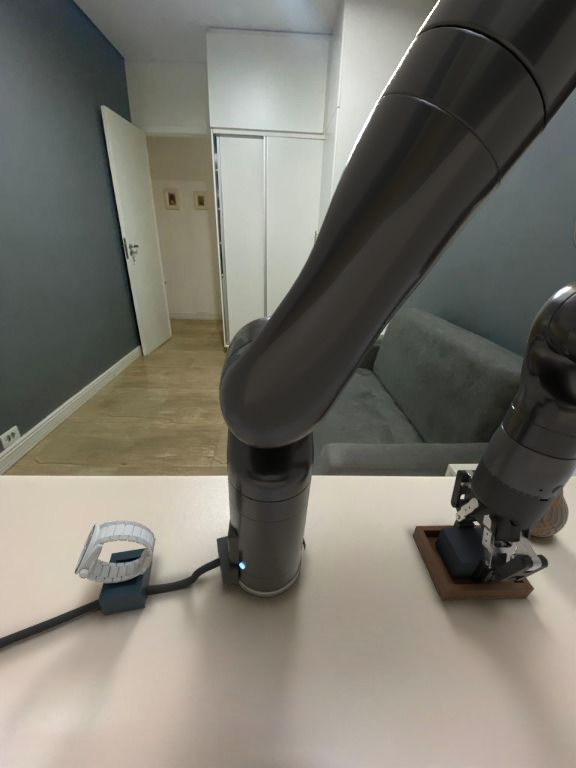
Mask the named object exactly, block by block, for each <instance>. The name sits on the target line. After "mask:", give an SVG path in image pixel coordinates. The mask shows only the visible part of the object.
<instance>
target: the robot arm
mask: <svg viewBox="0 0 576 768" xmlns="http://www.w3.org/2000/svg"><path fill="white" fill-rule="evenodd" d="M575 91H576V0H437V2H436V4H435V5H434V6H433V8H432V10H431V11H430V13H429V14H428V16H427V17H426V19H425V21H424V22H423V24H422V26H420V28H419V30H418V32H417V33H416V34H415V37H414V38H413V40H412V42H411V44H410V45H409V47H408V48H407V50H406V52H405V54H404V56H403V57H402V59H401V61H400V62H399V64H398V66H397V67H396V69H395V71H394V72H393V74H392V76H391V77H390V79H389V81H388V82H387V85H386V86H385V88H384V89H383V91H382V93H381V94H380V96H379V99H378V100H377V101H376V102H375V104H374V107H373V109H372V110H371V112H370V114H369V116H368V118H367V119H366V121H365V123H364V125H363V127H362V129H361V130H360V133H359V135H358V137H357V139H356V141H355V143H354V145H353V147H352V149H351V152H350V154H349V157H348V158H347V161H346V163H345V165H344V168H343V170H342V173H341V174H340V178H339V180H338V182H337V184H336V186H335V190H334V192H333V195H332V197H331V199H330V201H329V205H328V207H327V210H326V213H325V216H324V218H323V221H322V223H321V226H320V229H319V231H318V234H317V236H316V239H315V241H314V244H313V246H312V248H311V250H310V253H309V255H308V257H307V259H306V261H305V263H304V265H303V267H302V268H301V270H300V272H299V274H298V276H297V277H296V278H295V280H294V282H293V283H292V286H291V287H290V288H289V290H288V291H287V293H286V294H285V296H284V297H283V299H282V300H281V302H280V303H279V305H278V306H277V307H276V308H275V310H274V311H273V313H272V314H271V315H269V316H262V317H259V318H255V319H253V320H250V321H249V322H248V323H246V324H244V325H243V326H242V327H241V328H240V329H239V330H237V332H236V333H235V334H234V335H233V337H232V339H231V340H230V343H229V345H228V347H227V350H226V353H225V358H224V361H223V364H222V365H223V366H222V370H221V373H220V378H219V384H218V400H219V407H220V411H221V415H222V418H223V420H224V422H225V424H226V426H227V441H226V469H227V470H226V471H227V488H228V507H229V521H228V530H227V535H225V536H222V537H218V538H216V548H217V549H216V550H217V555H218V556H217V558H216V559H213V560H211V561H209V562H207V563H205V564H203V565H201V566H199V567H198V568H196V569H195V570H194V571H193V572H192V574H191V575H190V576H188V577H186V578H183V579H179V580H176V581H172V582H166V583H159V584H149V586H147V587H146V594H147V595H153V594H163V593H169V592H173V591H178V590H181V589H184V588H187V587H188V586H191V585H193V584H194V583H196V582H197V581H198V580H199V578H200V576H202V575H204V574H206V573H208V572H210V571H212V570H214V569H216V568H219V569H220V575H221V582H222V586H227V585H230V584H231V585H237V586H240V588H242V589H243V590H244V591H245V592H247V593H248V594H250V595H253V596H254V597H260V598H261V597H262V598H271V597H275V596H278V595H280V594H282V593H285V592H286V591H287V590H288V589H290V588H291V587H292V586H293V584H294V583H295V582H296V580H297V578H298V577H299V574H300V571H301V567H302V555H303V554H302V553H303V550H304V551H306V547H307V544H306V541H305V530H306V523H307V514H308V507H309V499H310V491H311V485H312V478H313V477H312V476H313V471H314V470H313V469H314V463H315V445H314V430H315V429H316V428H317V427H319V425H321V424H322V422H323V421H324V420H325V419H326V417H327V416H328V415H329V413H330V412H331V410H332V409H333V407H334V406H335V404H337V401H338V400H339V398H340V397H341V396H342V394H343V392H344V390H345V389H346V388H347V386H348V384H350V381H351V380H352V378H353V377H354V375H355V374H356V372H357V370H358V369H359V367H360V366H361V364H362V363H363V361H364V360H365V358H366V357H367V356H368V354H369V353H370V350H371V349H372V348H373V346H374V345H375V343H376V342H377V340H378V339H379V337H380V336H381V334H382V333H383V332H384V331H385V329H386V327H387V326H388V325H389V324H390V322H391V320H392V319H393V318H394V316H396V314H397V313H398V311H400V309H401V308H402V307H403V306H404V304H405V303H406V302H407V300H409V299H410V297H411V296H412V295H413V293H414V292H415V291H416V290H417V288H418V287H419V286H420V285H421V283H422V282H423V281H424V279H425V278H426V277H427V276H428V275H429V273H430V272H431V271H432V269H433V268H434V267H435V266H436V264H437V263H438V262H439V261H440V260H441V258H442V257H443V255H444V254H445V252H446V251H448V249H449V248H450V247H451V245H452V244H453V242H454V241H455V240H456V239H457V237H458V236H459V235H460V234H461V232H463V230H464V229H465V227H466V226H467V225H468V224H469V223H470V221H472V219H473V218H474V217H475V216H476V215H477V214H478V212H479V211H480V210H481V209H482V208H483V206H484V205H486V203H487V202H488V201H489V200H490V198H491V197H492V196H493V195H494V194H495V193H496V191H497V190H498V189H499V188H500V187H501V185H502V184H503V183H504V182H505V180H507V178H508V177H509V175H510V174H511V173H512V171H514V170H515V168H516V167H517V165H518V164H519V163H520V162H521V160H522V159H524V157H525V156H526V155H527V153H528V152H529V151H530V149H531V148H532V146H533V145H534V144H535V143H536V142H537V140H538V139H539V138H540V136H542V134H543V133H544V131H545V130H546V129H547V128H548V126H549V125H550V124H551V122H552V121H553V120H554V118H555V117H556V116H557V114H558V113H559V112H560V110H561V109H562V108H563V106H564V105H565V104H566V102H567V101H568V100H569V98H570V97H571V96H572V95H573V93H574V92H575ZM572 242H573V246H574V247H575V248H576V215H575V217H574V222H573V229H572ZM525 345H526V346H525V349H524V355H523V360H522V364H521V370H520V379H519V380H520V381H519V386H518V390H517V392H516V394H515V396H514V397H513V399H512V401H511V403H510V405H509V407H508V409H507V411H506V412H505V415H504V417H503V420H502V421H501V423H500V424H499V426H498V428H497V429H496V430H495V431H494V433H493V434H492V436H491V438H490V439H489V441H488V444H487V446H486V447H485V449H484V452H483V454H482V456H481V458H480V459H479V462H478V463H477V466H476V468H475V469H458V470H457V471H456V474H455V479H454V484H453V489H452V494H451V497H450V505H451V506H450V507H452V508H453V509H455V510H456V512H455V519H456V520H455V521H454V523H453V524H452V525H453V527H452V528H474V526H475V525H476V524H475V523H476V522H477V524H478V525H481V527H482V530H483V538H482V546H483V547H484V548H485V550H484V556H483V560H480V562H479V565H478V566H477V568H476V570H475V571H474V573H473V574H472V576H473V578H474V580H475V581H480V583H492V582H494V581H495V579H497V580H498V581H505V580H515V581H520V580H522V579H524V578H528V577H530V576H532V575H534V574H536V573H538V572H540V571H543V570H544V569H547V568H548V567H549V561H548V559H547V557H546V556H545V555H543V554H537V553H536V551H535V550H534V548H533V546H532V543H530V541H529V540H530V538H531V535H530V534H531V527H532V526H533V525H534V524H535V523H536V522H538V521H539V520H540V519H541V518H542V517H543V516H544V514H545V513H546V512H547V510H548V509H549V507H550V506H551V505H552V503H553V502H554V500H555V499H556V498H557V496H558V495H559V493H560V492H561V491H562V490H563V491H564V488H565V486H566V485H567V483H568V482H569V480H570V479H571V478H572V476H573V475H574V473H575V471H576V280H573V281H571V282H569V283H567V284H565V285H563V286H562V287H560V288H559V289H558V290H556V291H555V292H554V293H552V295H550V296H549V298H547V299H546V301H544V303H543V304H542V305H541V306H540V309H539V310H538V311H537V313H536V315H535V317H534V318H533V321H532V324H531V325H530V329H529V332H528V335H527V340H526V344H525ZM463 495H464V497H463V498H462V496H463ZM494 540H495V541H494ZM497 553H499V555H498V557H495V555H496V554H497ZM510 556H511V557H512V558H513V559H511V560H510ZM98 600H99V598H97V599H95V600H92V601H91V602H87V603H86V604H83V605H81V606H78V607H76V608H73V609H71V610H69V611H67V612H64V613H61V614H59V615H57V616H54V617H52V618H49V619H47V620H44V621H41V622H39V623H36V624H33V625H31V626H28V627H26V628H24V629H21V630H18V631H15V632H13V633H10V634H8V635H5V636H1V637H0V649H3V648H6V647H8V646H10V645H12V644H15V643H18V642H20V641H22V640H25V639H27V638H30V637H33V636H35V635H37V634H41V633H43V632H46V631H48V630H51V629H53V628H55V627H58V626H61V625H62V624H65V623H67V622H70V621H72V620H74V619H77V618H80V617H82V616H84V615H86V614H88V613H90V612H93V611H96V610H98V609H102V608H101V606H100V604H99V602H98Z"/></svg>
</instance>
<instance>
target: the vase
mask: <svg viewBox="0 0 576 768" xmlns="http://www.w3.org/2000/svg"><path fill="white" fill-rule="evenodd" d="M569 514H570V513H569V506H568V503H567V500H566V498H565V496H564V489H563V490H562V491H561V492H560V493H559V495H558V496H557V498H556V499H555V500H554V502H553V503H552V505H551V506H550V507H549V509H548V510H547V512H546V513H545V514H544V516H543V517H542V518H541V519H540V520H539V521H538V522H536V523H535V524H534V525H533V526H532V527H531V534H530V536H533V537H539V538H548V537H551V536H554V535H556V534H557V533H560V531H561V530H563V529H564V527H565V526H566V524H567V522H568V521H569Z"/></svg>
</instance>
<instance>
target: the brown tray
mask: <svg viewBox="0 0 576 768" xmlns="http://www.w3.org/2000/svg"><path fill="white" fill-rule="evenodd" d="M453 525H454V524H452V525H451V524H450V525H448V524H447V525H415V528H414V530H413V533H412V536H413V539H414V541H415V543H416V545H417V548H418V550H419V552H420V554H421V557H422V559H423V561H424V563H425V566H426V568H427V570H428V572H429V575H430V578H431V580H432V581H433V584H434V586H435V588H436V590H437V593H438V595H439V597H440V600H441V601H454V600H455V601H459V600H462V601H463V600H489V599H492V600H493V599H518V598H519V599H522V598H523V599H525V598H528V597H529V596H530V595H531V593H533V591H534V590H535V588H534V586H533V585H532V584H531V582H530V581H529V579H528V577H526V578H524V579H522V580H520V581H515V580H505V581H498V580H497V579H495V581H494V582H492V583H480V581H475V580H474V578H452V576H451V574H450V572H449V570H448V568H447V566H446V564H445V562H444V560H443V558H442V556H441V554H440V552H439V550H438V548H437V546H436V544H435V542H436V540H437V538H438V536H439V534H440V532H441V530H442V528H452V527H453ZM474 528H482V527H481V525H480V524H475V526H474ZM510 558H511V559H513V558H512V557H511V556H510Z"/></svg>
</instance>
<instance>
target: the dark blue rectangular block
mask: <svg viewBox="0 0 576 768" xmlns="http://www.w3.org/2000/svg"><path fill="white" fill-rule="evenodd" d="M482 538H483V530H482V528H442V530H441V532H440V534H439V536H438V538H437V540H436V542H435V544H436V546H437V548H438V550H439V552H440V554H441V556H442V558H443V560H444V562H445V564H446V566H447V568H448V570H449V572H450V574H451V576H452V578H473V576H472V574H473V573H474V571H475V570H476V568H477V566H478V565H479V562H480V560H483V556H484V550H485V548H484V547H483V546H482ZM494 541H495V540H494ZM498 555H499V553H497V554H496V555H495V557H498ZM510 560H511V558H510Z"/></svg>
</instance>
